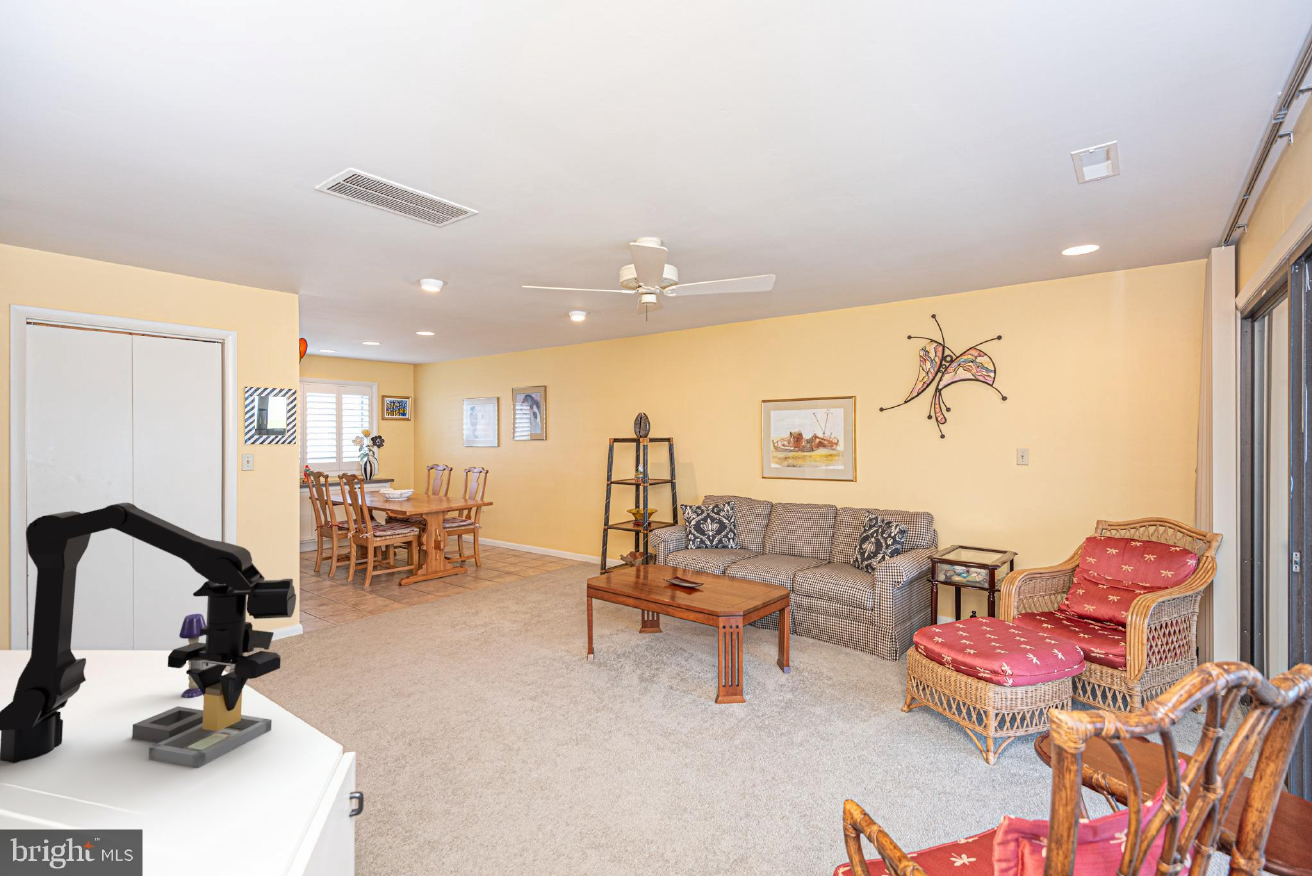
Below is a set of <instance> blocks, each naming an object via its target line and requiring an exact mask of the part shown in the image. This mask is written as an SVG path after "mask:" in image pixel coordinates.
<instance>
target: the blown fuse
mask: <svg viewBox="0 0 1312 876" xmlns="http://www.w3.org/2000/svg"><path fill="white" fill-rule="evenodd" d="M242 701H243V691H242V692H241V694H240V696H239V699H238V701H237V703H236V705H235V708H234V709H233V710H231V711H227V709H226V706H225V702H224V697H223V692H222V687H221V682H220V683H217V684H214V685H212V686H209V687H207V688H206V693H205V694H204V696H203V707H202V708H203V709H202V710H203V727H202V729H206V730H211V731H214V732H216V733H219V732H220V731H221V730H224V729H226V728H229V727H228V726H230V725H232V724H234V723H236V722H239V721H241V715H242V704H243V702H242Z"/></svg>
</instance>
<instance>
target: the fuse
mask: <svg viewBox="0 0 1312 876" xmlns="http://www.w3.org/2000/svg"><path fill="white" fill-rule="evenodd" d="M228 737H230V735H229V734H224V733H220V732H215V733H213V734H210V735H209V736H207V737H205V738H203V739H201V740H198V741H197V742H196V741H195V743H194V742H193V743H192V744H191V745H188V746H186V749H187V750H193V751H198V752H200V751H202V750H204V749H206V748H208V747H210V746H212V745H214V744H216V743H218V742H220V741H222V740H224V739H226V738H228Z"/></svg>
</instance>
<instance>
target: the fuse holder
mask: <svg viewBox="0 0 1312 876" xmlns="http://www.w3.org/2000/svg"><path fill="white" fill-rule="evenodd" d="M202 723H203V709H198V708H192V707H186V706H180V705H179V706H178V705H177V706H174V707H172V708H170V709H167V710H165V711H162V712H160V713H158V714H155V715H152V716H149V717H147V718H145V719H143V720H140V721H138V722H136V723H132V733H131V734H132V735H131V737H132V738H131V739H135V740H141V741H147V742H152V743H155V744H158V743H160V742H162V741H164V740H166V739H169V738H171V737H173V736H175V735H177V734H180V733H182V732H184V731H186V730H189V729H191V728H193V727H195V726H197V725H200V724H202Z"/></svg>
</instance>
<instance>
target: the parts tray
mask: <svg viewBox="0 0 1312 876" xmlns="http://www.w3.org/2000/svg"><path fill="white" fill-rule="evenodd" d="M272 722H273V720H272V719H271V718H270V719H269V718H264V717H257V716H252V715H246V714H241V721H239V722H236V723H234V724H232V725H230V726H228V727H227V728H234V729H239V730H240V731H239V732H237V733H235V734H233V735H229V737H228V738H226V739H224V740H222V741H220V742H218V743H216V744H214V745H212V746H210V747H208V748H206V749H204V750H202V751H200V752H198V751H193V750H187V748H182V747H184V746H186V745H189V744H190V743H194V742H196V741H197V740H200V739H201V738H204V737H206V736H208V735H211V734H212V733H214V732H215V731H211V730H206V729H202V727H203V723H202V724H200V725H197V726H195V727H193V728H191V729H189V730H186V731H184V732H182V733H180V734H177V735H175V736H173V737H171V738H169V739H166V740H164V741H162V742H160V743H155V744H153V745H151V746H149V747H148V760H152V761H153V760H154V761H159V762H163V763H168V764H175V765H180V766H186V767H191V768H194V769H195V768H196V769H199V768H201V767H203V766H205V765H207V764H209V763H211V762H212V761H214V760H217V759H218V758H220V757H222V756H224V755H226V754H228V753H230V752H232V751H234V750H235V749H238V748H239V747H241V746H243V745H246V744H248V743H249V742H251V741H252V740H254V739H257V738H258V737H261V736H262V735H264V734H266V733H268V732H270V731H271V730H272Z"/></svg>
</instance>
